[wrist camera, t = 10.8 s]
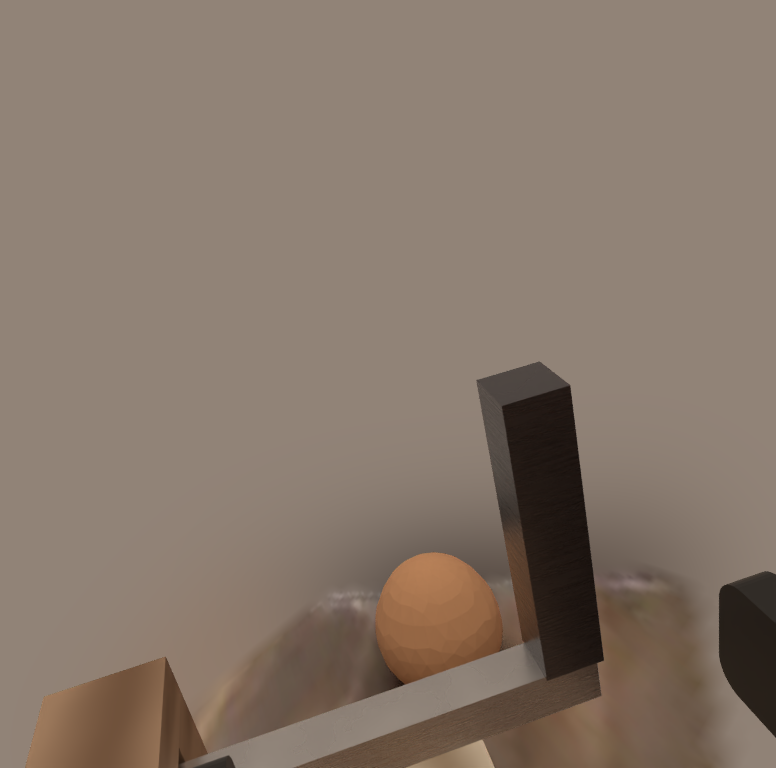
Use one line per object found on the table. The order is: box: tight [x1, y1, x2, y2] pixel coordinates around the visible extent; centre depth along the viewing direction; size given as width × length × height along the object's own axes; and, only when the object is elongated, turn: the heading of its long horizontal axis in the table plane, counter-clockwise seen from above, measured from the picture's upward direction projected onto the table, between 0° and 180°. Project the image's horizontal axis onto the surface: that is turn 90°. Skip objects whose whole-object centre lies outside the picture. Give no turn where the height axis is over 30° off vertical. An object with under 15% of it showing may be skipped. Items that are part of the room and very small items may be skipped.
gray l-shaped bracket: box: [178, 362, 604, 768], centre depth 27 cm, size 19×2×14 cm, turn 104°
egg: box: [376, 552, 503, 684], centre depth 43 cm, size 7×7×8 cm
